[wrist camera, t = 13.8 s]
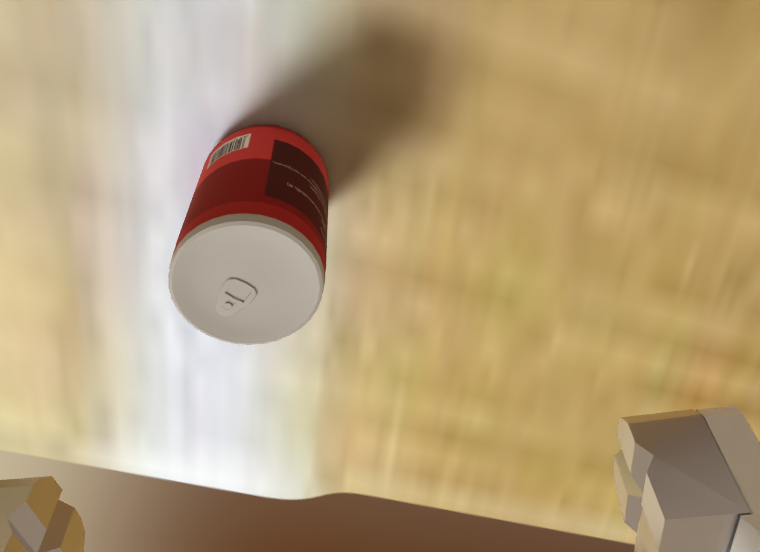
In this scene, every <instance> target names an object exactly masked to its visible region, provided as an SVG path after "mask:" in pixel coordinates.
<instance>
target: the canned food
mask: <svg viewBox="0 0 760 552" xmlns="http://www.w3.org/2000/svg"><path fill="white" fill-rule="evenodd" d="M328 195H329V183H328V174H327V171H326V168H325V165H324V163H323V161H322V159H321V157H320V156H319V154H318V153H317V151H316V150H315V149H314V147H313V146H312V145H311V144H310V143H309V142H308V141H307V140H306V139H304V138H303V137H302V136H300V135H299V134H297V133H295V132H293V131H291V130H289V129H286V128H283V127H279V126H273V125H255V126H250V127H246V128H243V129H240V130H238V131H236V132H234V133H232V134H231V135H229V136H228V137H226V138H225V139H224V140H222V141H221V142H220V143H219V144H217V146H216V147H215V148H214V149H213V150H212V152H211V153H210V154H209V156H208V158H207V160H206V162H205V164H204V167H203V170H202V173H201V175H200V178H199V181H198V184H197V187H196V189H195V192H194V195H193V198H192V201H191V203H190V206H189V209H188V212H187V215H186V217H185V220H184V223H183V226H182V229H181V232H180V234H179V237H178V240H177V243H176V247H175V250H174V253H173V256H172V260H171V264H170V271H169V290H170V293H171V297H172V300H173V302H174V304H175V306H176V308H177V310H178V311H179V312H180V313H181V315H182V316H183V317H184V318H185V319H186V320H187V321H188V322H189V323H190V324H191V325H193V326H194V327H195V328H196V329H198V330H200V331H201V332H203V333H205V334H206V335H208V336H211V337H213V338H216V339H219V340H221V341H226V342H230V343H235V344H247V345H251V344H264V343H268V342H272V341H277V340H279V339H282V338H284V337H287V336H289V335H291V334H292V333H294V332H296V331H297V330H299V329H300V328H302V327H303V326H304V325H305V324H306V323H307V322H308V321H309V320H310V319H311V317H312V316H313V315H314V313H315V312H316V310H317V308H318V306H319V304H320V301H321V299H322V293H323V289H324V283H325V270H326V250H327V223H328Z"/></svg>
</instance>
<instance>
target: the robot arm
mask: <svg viewBox="0 0 760 552" xmlns="http://www.w3.org/2000/svg"><path fill="white" fill-rule="evenodd" d="M617 437H618V440H619V443H620V445H621V448H622V449H621V450H620V451H619V452H618V453H617V454H616V455H615V458H614V479H615V489H616V494H617V498H618V502H619V506H620V510H621V513H622V516H623V519H624V522H625V523H626V524H627V525H628V526H630V527H631V528H632V529H633V530H634V531H636V532H637V536H636V543H635V551H634V552H760V442H759V441H758V439H757V437H756V435H755V434H754V432H753V430H752V428H751V427H750V425H749V423H748V421H747V420H746V418H745V416H744V414H743V412H742V411H741V410H739V409H738V408H737V407H736V406H728V407H718V408H709V409H699V410H693V409H691V410H682V411H673V412H665V413H656V414H647V415H638V416H630V417H622V418H621V419H620V421H619V423H618V430H617ZM61 492H62V489H61V487H60V486H59V485H58V484H57V482H56V481H55V480H54V479H53V477H52V476H49V477H35V478H24V479H23V478H22V479H9V480H0V552H84V540H85V530H84V526H83V523H82V519H81V517H80V515H79V514H78V512H77V511H76V509H75V508H74V507H72V506H70V505H68V504H66V503H64V502H62V501H60V500H59V497H60V494H61Z"/></svg>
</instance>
